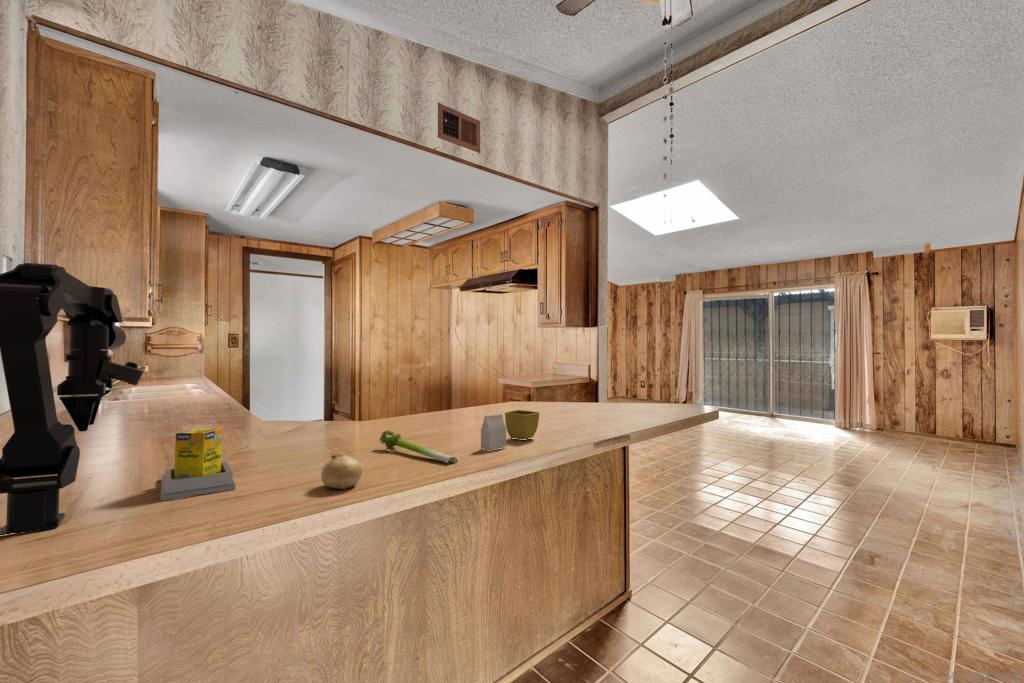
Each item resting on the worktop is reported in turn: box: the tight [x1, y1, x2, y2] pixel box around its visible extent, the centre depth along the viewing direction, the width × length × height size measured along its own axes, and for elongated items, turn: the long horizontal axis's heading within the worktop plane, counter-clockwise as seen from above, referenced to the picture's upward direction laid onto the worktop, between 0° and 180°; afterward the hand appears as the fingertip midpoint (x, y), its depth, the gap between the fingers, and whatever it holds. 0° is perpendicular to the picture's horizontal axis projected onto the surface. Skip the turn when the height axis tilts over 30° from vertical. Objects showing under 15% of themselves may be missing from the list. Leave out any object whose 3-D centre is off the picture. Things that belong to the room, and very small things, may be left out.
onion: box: [320, 452, 363, 490], centre depth 93 cm, size 8×8×7 cm
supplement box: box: [174, 427, 223, 479], centre depth 91 cm, size 6×6×11 cm
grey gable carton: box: [480, 413, 507, 451], centre depth 130 cm, size 4×7×10 cm, turn 135°
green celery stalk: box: [378, 429, 458, 464], centre depth 121 cm, size 6×7×30 cm
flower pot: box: [504, 409, 541, 439], centre depth 144 cm, size 9×9×9 cm
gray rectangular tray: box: [160, 461, 236, 502], centre depth 93 cm, size 18×12×4 cm, turn 38°
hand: (86, 427), depth 87 cm, fingers open, 9 cm apart
